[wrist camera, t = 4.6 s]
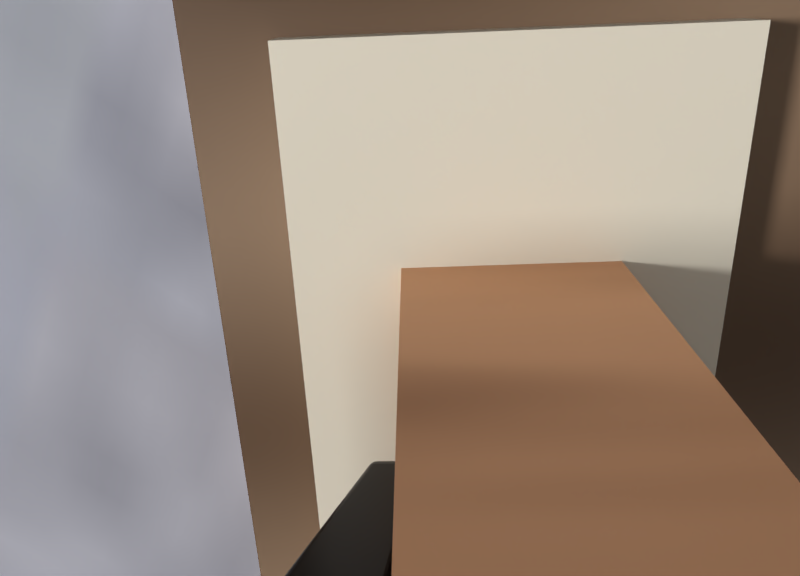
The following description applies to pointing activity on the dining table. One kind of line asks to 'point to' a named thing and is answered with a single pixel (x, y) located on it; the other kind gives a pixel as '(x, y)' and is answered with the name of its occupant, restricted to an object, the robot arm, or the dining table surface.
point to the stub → (531, 293)
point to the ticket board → (269, 241)
